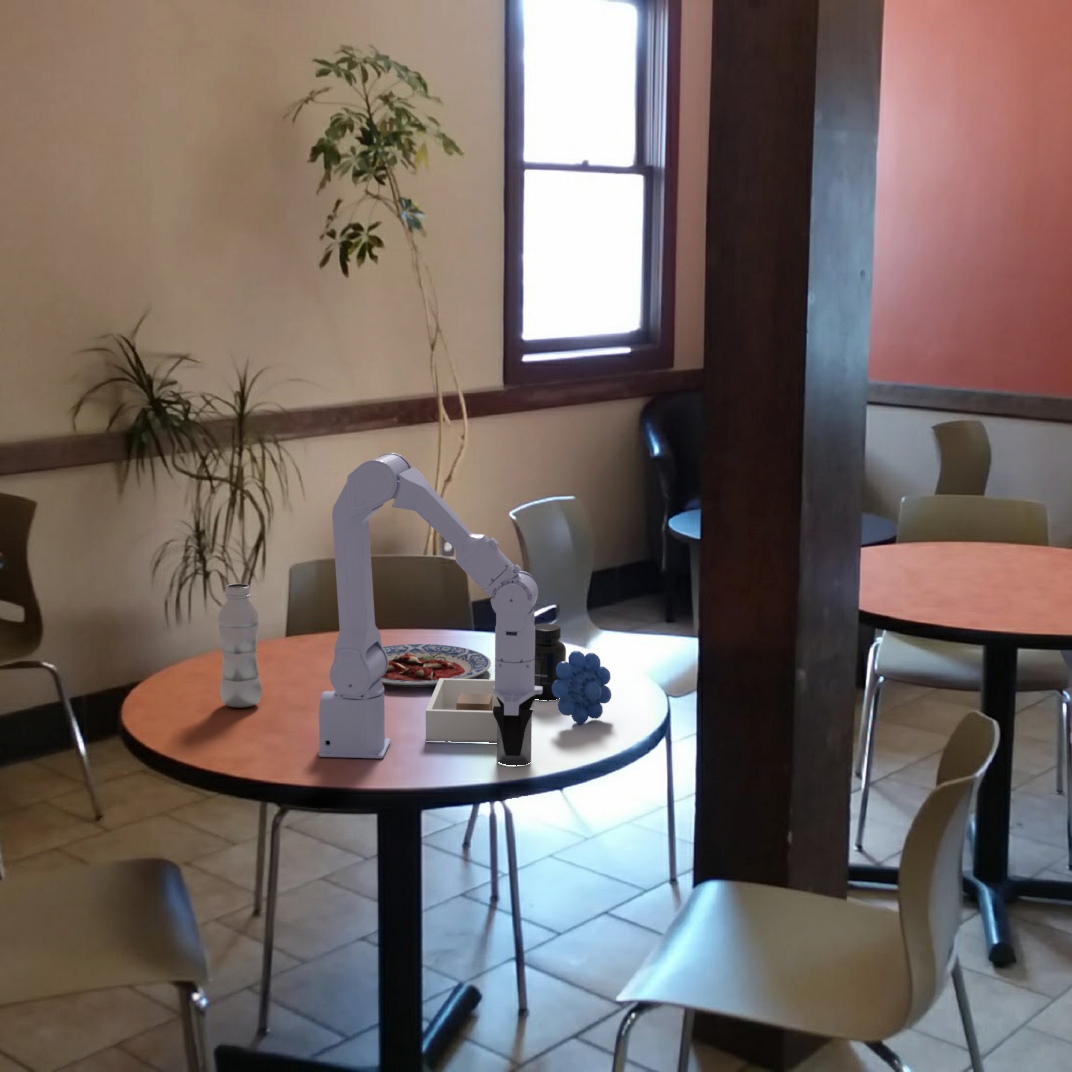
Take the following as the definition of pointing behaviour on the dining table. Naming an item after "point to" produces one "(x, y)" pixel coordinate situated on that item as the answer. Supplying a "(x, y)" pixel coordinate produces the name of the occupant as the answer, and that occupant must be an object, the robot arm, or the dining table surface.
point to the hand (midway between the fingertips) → (514, 748)
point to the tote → (460, 713)
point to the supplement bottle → (547, 658)
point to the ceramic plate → (431, 664)
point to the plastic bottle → (239, 648)
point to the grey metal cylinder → (525, 752)
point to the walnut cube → (474, 702)
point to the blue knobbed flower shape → (581, 686)
